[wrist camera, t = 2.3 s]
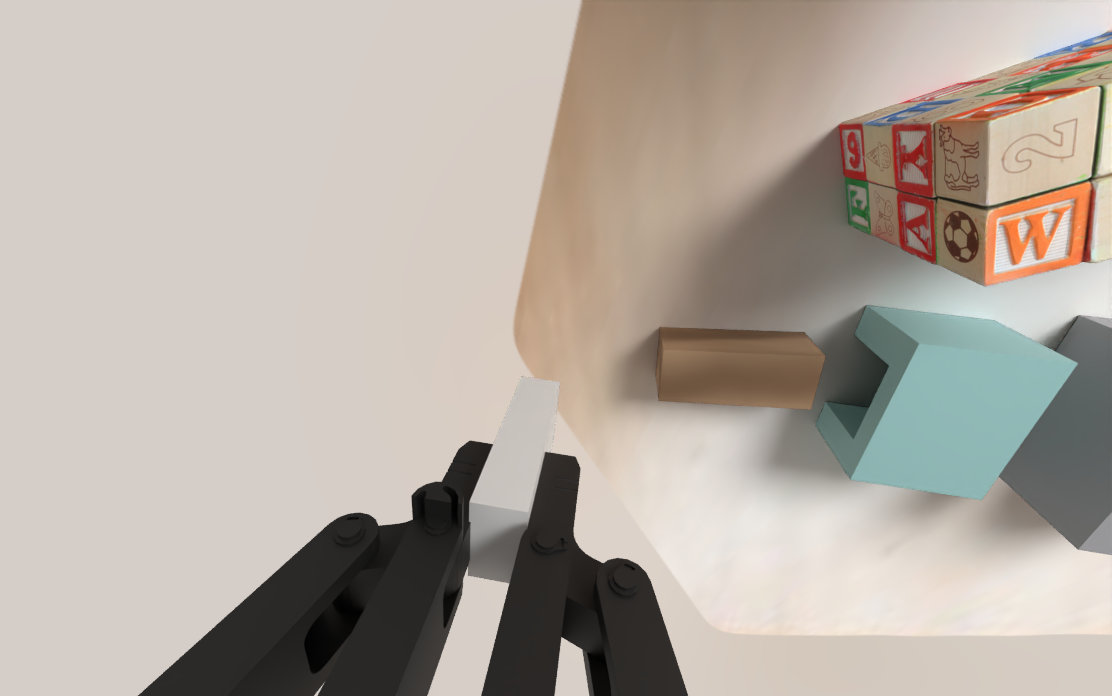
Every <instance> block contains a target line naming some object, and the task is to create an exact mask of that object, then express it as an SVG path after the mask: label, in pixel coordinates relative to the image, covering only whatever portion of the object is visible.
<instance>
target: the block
mask: <svg viewBox="0 0 1112 696" xmlns="http://www.w3.org/2000/svg"><path fill="white" fill-rule="evenodd" d="M854 335H855V336H856V337H857V338H858V339H859V340H861V341H862V342H863V343H864V344H865V345H866V346H867V347H868V348H870V349H871V350H872V351H873V352H874V353H875V354H876V355H877V356H878V357H880V358H881V359H882V360H883V361H884V362H885V363H886V364H887V365H889V367H888V370H887V372H886V374H885V376H884V378H883V380H882V382H881V384H880V386H879V388H878V390H877V392H876V394H875V396H874V398H873V401H872V403H871V405H870V407H869V408H867V407H860V406H853V405H845V404H838V403H831V402H825V404H824V406H823V409H822V411H821V413H820V416H819V418H818V421H817V423H816V427H817V428H818V430H819V432H820V433H821V435H822V436H823V438H824V439H825V441H826V443H827V444H828V446H829V447H830V449H831V450H832V452H833V453H834V455H835V457H836V458H837V460H838V461H839V463H840V464H841V466H842V467H843V469H844V471H845V472H846V474H847V475H848V477H849V478H850V480H855V481H862V482H868V483H875V484H881V485H888V486H894V487H901V488H907V489H914V490H920V491H927V492H933V493H940V494H946V495H953V496H959V497H966V498H972V499H979V500H982V499H983V497H984V496H985V495H986V493H987V492H988V490H989V489H990V488H991V486H992V485H993V483H994V482H995V480H996V479H997V478H998V476H999V475H1000V473H1001V472H1002V471H1003V469H1004V468H1005V466H1006V465H1007V463H1008V462H1009V461H1010V459H1011V458H1012V456H1013V455H1014V454H1015V452H1016V451H1017V449H1018V448H1019V446H1020V445H1021V444H1022V442H1023V441H1024V439H1025V438H1026V437H1027V435H1028V434H1029V432H1030V431H1031V429H1032V428H1033V427H1034V425H1035V424H1036V422H1037V421H1038V420H1039V418H1040V417H1041V415H1042V414H1043V412H1044V411H1045V410H1046V408H1047V407H1048V405H1049V404H1050V402H1051V401H1052V400H1053V398H1054V397H1055V395H1056V394H1057V393H1058V391H1059V390H1060V388H1061V387H1062V385H1063V384H1064V383H1065V381H1066V380H1067V378H1068V377H1069V376H1070V374H1071V373H1072V371H1073V370H1074V368H1075V367H1076V366H1077V364H1078V363H1076V362H1074V361H1073V360H1071V359H1069V358H1067V357H1065V356H1063V355H1061V354H1059V353H1057V352H1055V351H1053V350H1051V349H1049V348H1047V347H1045V346H1043V345H1041V344H1039V343H1038V342H1036V341H1034V340H1032V339H1030V338H1028V337H1026V336H1024V335H1022V334H1020V333H1018V332H1016V331H1014V330H1012V329H1010V328H1008V327H1006V326H1004V325H1002V324H1001V323H999V322H997V321H995V320H986V319H978V318H969V317H961V316H953V315H944V314H936V313H927V312H919V311H910V310H902V309H894V308H885V307H877V306H868V305H867V306H866V308H865V310H864V313H863V315H862V317H861V320H860V322H859V324H858V327H857V329H856V332H855V334H854Z"/></svg>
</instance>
